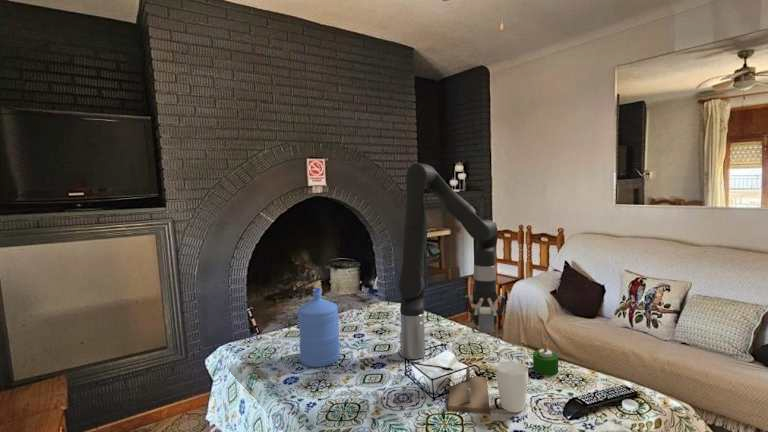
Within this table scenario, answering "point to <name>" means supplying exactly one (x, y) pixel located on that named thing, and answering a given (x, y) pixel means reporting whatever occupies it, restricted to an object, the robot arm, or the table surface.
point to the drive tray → (470, 395)
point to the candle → (545, 361)
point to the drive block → (485, 320)
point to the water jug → (318, 332)
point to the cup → (512, 385)
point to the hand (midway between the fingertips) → (485, 324)
